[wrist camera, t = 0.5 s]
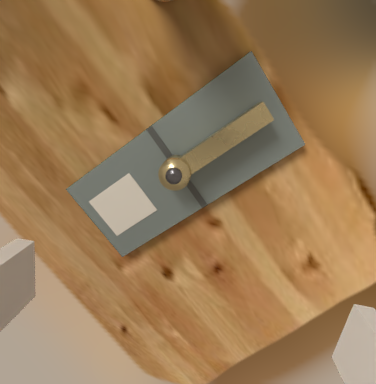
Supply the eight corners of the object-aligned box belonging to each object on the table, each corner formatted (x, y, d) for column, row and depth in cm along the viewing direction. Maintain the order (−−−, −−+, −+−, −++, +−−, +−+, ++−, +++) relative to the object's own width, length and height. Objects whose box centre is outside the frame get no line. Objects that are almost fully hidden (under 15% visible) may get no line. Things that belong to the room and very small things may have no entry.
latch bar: (157, 165, 32) (150, 172, 29) (256, 96, 29) (262, 94, 26) (174, 188, 33) (169, 198, 30) (272, 124, 30) (280, 126, 26)
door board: (70, 186, 36) (65, 189, 35) (249, 53, 29) (251, 50, 28) (125, 252, 38) (122, 257, 37) (302, 143, 32) (305, 144, 31)
